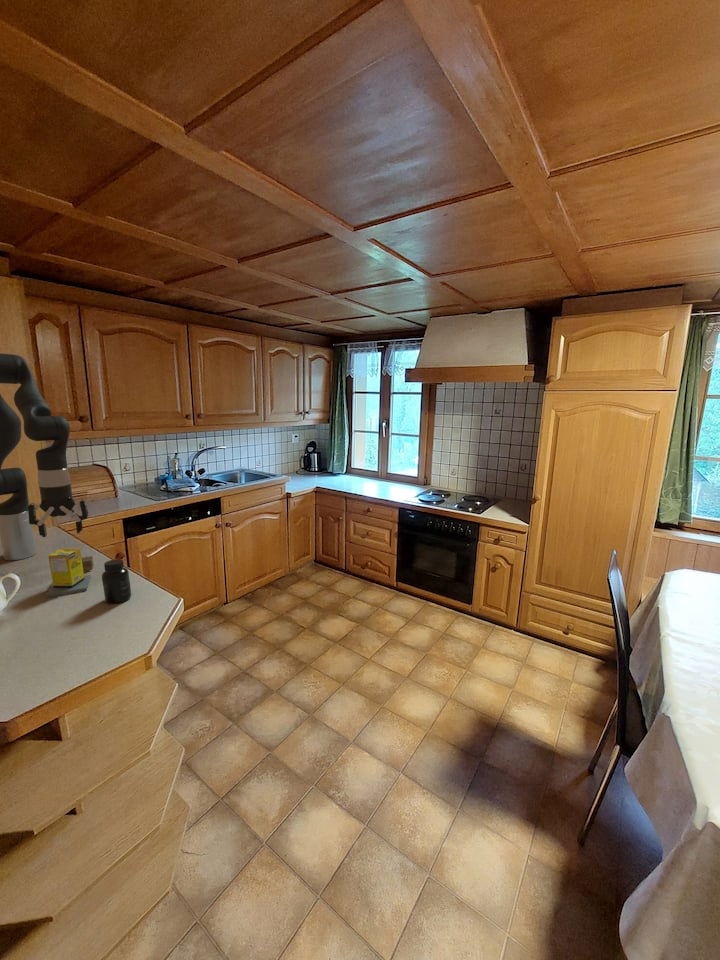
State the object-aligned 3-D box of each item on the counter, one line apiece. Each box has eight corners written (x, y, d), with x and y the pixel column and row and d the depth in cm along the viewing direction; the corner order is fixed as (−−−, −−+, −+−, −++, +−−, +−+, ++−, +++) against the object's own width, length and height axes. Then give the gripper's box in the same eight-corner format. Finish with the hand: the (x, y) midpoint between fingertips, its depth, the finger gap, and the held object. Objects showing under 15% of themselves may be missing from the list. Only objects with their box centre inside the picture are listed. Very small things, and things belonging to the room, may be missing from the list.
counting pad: (53, 583, 126) (52, 580, 126) (90, 577, 131) (90, 574, 130) (46, 597, 117) (46, 594, 117) (86, 590, 122) (86, 587, 122)
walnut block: (80, 568, 137) (78, 557, 137) (93, 566, 139) (92, 556, 138) (78, 573, 134) (77, 562, 133) (92, 570, 136) (91, 560, 135)
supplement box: (85, 579, 127) (80, 547, 125) (72, 588, 121) (67, 555, 119) (66, 579, 127) (61, 547, 125) (52, 588, 121) (47, 555, 119)
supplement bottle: (127, 591, 123) (124, 555, 120) (134, 599, 118) (130, 562, 115) (102, 598, 118) (97, 561, 115) (108, 607, 113) (103, 569, 111)
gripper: (85, 479, 123) (91, 527, 127) (27, 482, 117) (35, 533, 120) (82, 484, 117) (88, 535, 120) (21, 488, 110) (29, 541, 114)
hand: (62, 534), depth 120 cm, fingers open, 8 cm apart
